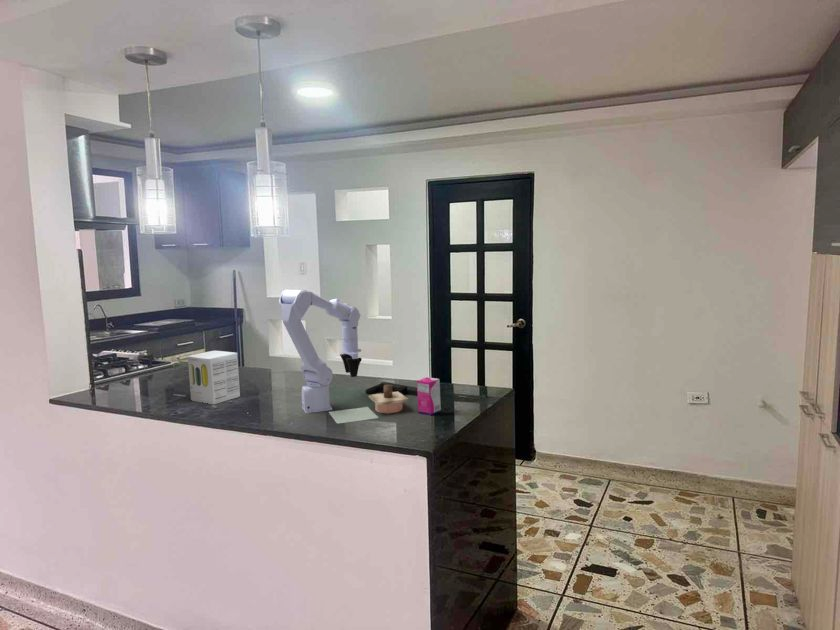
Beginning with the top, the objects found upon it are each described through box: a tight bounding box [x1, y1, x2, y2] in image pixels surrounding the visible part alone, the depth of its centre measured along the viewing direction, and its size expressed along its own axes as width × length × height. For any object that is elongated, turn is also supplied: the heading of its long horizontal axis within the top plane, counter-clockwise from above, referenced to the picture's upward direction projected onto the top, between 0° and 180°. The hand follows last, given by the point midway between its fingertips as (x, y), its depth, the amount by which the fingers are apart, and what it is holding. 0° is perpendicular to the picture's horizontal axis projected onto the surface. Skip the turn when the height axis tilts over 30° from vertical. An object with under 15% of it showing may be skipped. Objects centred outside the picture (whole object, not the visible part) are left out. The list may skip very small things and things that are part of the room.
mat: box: [328, 406, 379, 424], centre depth 188 cm, size 14×14×1 cm
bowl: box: [374, 402, 404, 414], centre depth 194 cm, size 9×9×4 cm
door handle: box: [364, 381, 418, 396], centre depth 214 cm, size 3×20×16 cm
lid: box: [368, 385, 410, 405], centre depth 193 cm, size 11×11×5 cm
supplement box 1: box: [187, 350, 241, 405], centre depth 214 cm, size 13×13×18 cm
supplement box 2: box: [416, 376, 442, 416], centre depth 190 cm, size 6×6×12 cm
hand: (351, 374), depth 209 cm, fingers open, 7 cm apart
